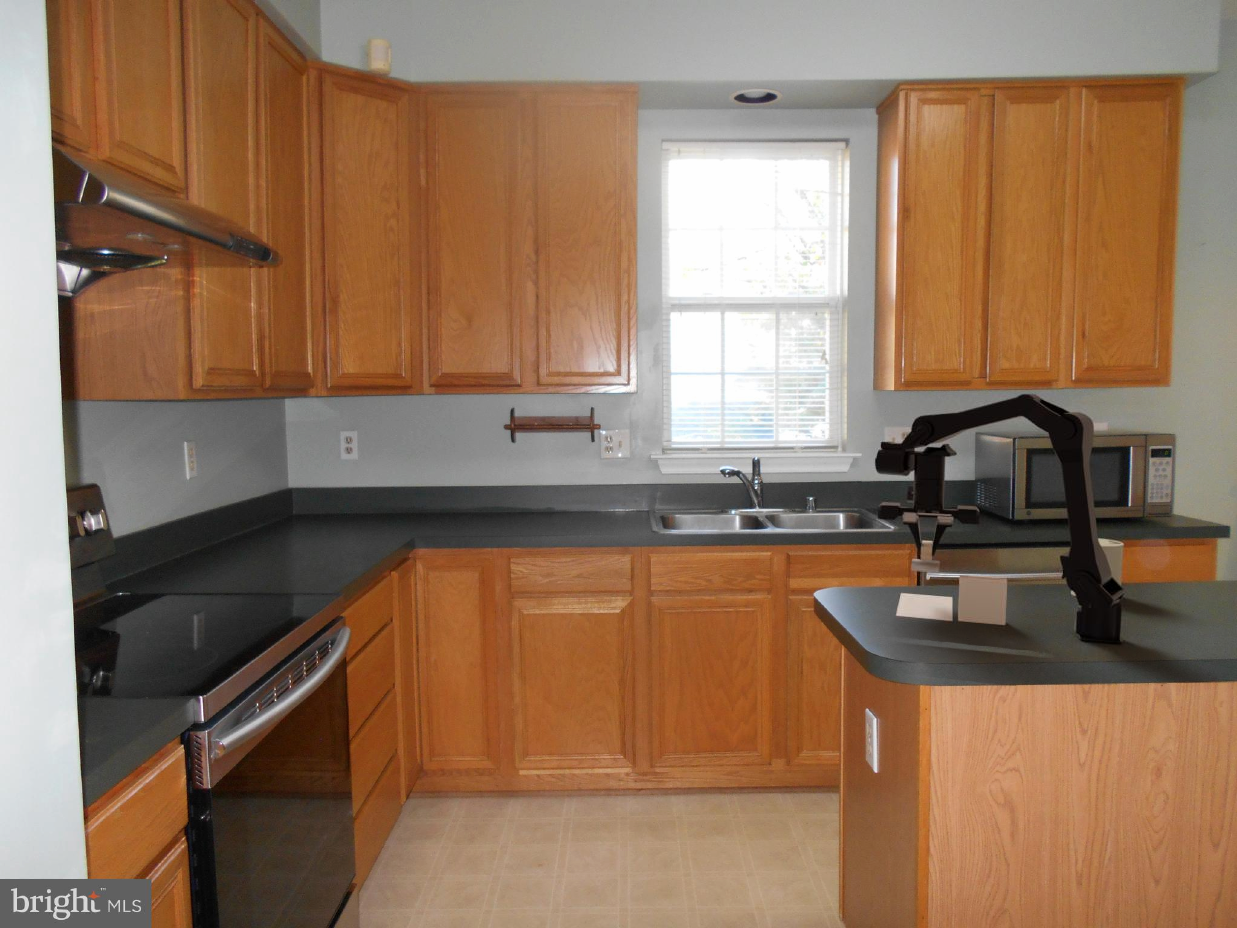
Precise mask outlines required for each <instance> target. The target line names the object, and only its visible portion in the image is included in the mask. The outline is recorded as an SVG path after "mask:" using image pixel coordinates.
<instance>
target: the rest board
mask: <svg viewBox="0 0 1237 928" xmlns="http://www.w3.org/2000/svg"><path fill="white" fill-rule="evenodd" d="M895 617H903V618H914V619H915V618H916V619H917V618H918V619H926V620H937V621H947V622H953V596H943V595H942V596H941V595H940V596H938V595H931V594H930V595H928V594H915V593H905V592H901V593H900V597H899V600H898V605H897V608H896V614H895Z"/></svg>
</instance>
